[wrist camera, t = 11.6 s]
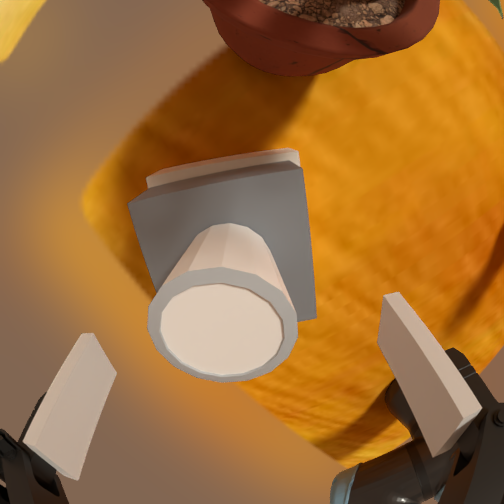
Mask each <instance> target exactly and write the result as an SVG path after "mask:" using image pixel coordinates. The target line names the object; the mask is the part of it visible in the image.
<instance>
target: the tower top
mask: <svg viewBox="0 0 504 504" xmlns="http://www.w3.org/2000/svg"><path fill="white" fill-rule="evenodd" d="M127 204H128V208H129V211H130V215H131V218H132V222H133V225H134V228H135V231H136V235H137V238H138V241H139V244H140V247H141V250H142V253H143V256H144V259H145V262H146V265H147V268H148V271H149V273H150V276H151V279H152V282H153V284H154V287H155V290H156V292H157V293H158V291H159V289H160V288H161V286H162V285H163V283H164V282H165V280H166V279H167V278H168V276H169V275H170V273H171V272H172V270H173V269H174V267H175V266H176V264H177V263H178V261H179V260H180V259H181V257H182V256H183V254H184V253H185V251H186V250H187V249H188V247H189V246H190V244H191V243H192V242H193V240H194V239H195V237H196V236H197V235H198V234H199V233H201V232H202V231H204V230H206V229H207V228H209V227H211V226H212V225H219V224H226V223H233V224H237V225H241V226H246V227H248V228H250V229H251V230H253V231H254V232H255V233H257V234H258V235H260V236H261V237H262V238H263V240H264V241H265V243H266V245H267V246H268V248H269V249H270V251H271V253H272V256H273V258H274V261H275V263H276V265H277V268H278V270H279V273H280V275H281V277H282V280H283V282H284V285H285V287H286V289H287V292H288V294H289V297H290V299H291V301H292V304H293V306H294V309H295V311H296V314H297V322H300V321H305V320H310V319H315V318H317V316H316V299H315V284H314V271H313V259H312V248H311V237H310V227H309V218H308V209H307V200H306V192H305V184H304V176H303V169H302V168H301V167H299V166H298V165H296V164H294V163H293V162H291V161H290V160H286V161H279V162H273V163H266V164H260V165H254V166H249V167H243V168H237V169H232V170H227V171H221V172H216V173H211V174H207V175H202V176H197V177H193V178H188V179H184V180H179V181H175V182H171V183H167V184H162V185H158V186H154V187H150V188H149V189H147V190H146V191H145V192H143V193H142V194H140V195H139V196H137V197H136V198H134V199H133V200H132V201H130V202H129V203H127Z"/></svg>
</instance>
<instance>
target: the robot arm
mask: <svg viewBox="0 0 504 504" xmlns="http://www.w3.org/2000/svg"><path fill="white" fill-rule="evenodd" d="M377 343H378V345H379V347H380V349H381V351H382V353H383V355H384V357H385V358H386V360H387V362H388V364H389V366H390V368H391V370H392V372H393V374H394V376H395V378H396V379H395V380H394V381H393V383H392V384H391V385H390V387H389V388H388V390H387V392H386V395H385V402H386V404H387V406H388V409H389V411H390V412H391V413H392V414H393V415H394V416H395V417H396V418H397V419H398V420H399V421H400V422H401V423H402V424H403V425H404V426H405V427H406V428H407V429H408V430H409V432H410V435H411V437H412V439H413V440H412V441H411V442H409V443H407V444H405V445H402V446H400V447H398V448H396V449H394V450H392V451H390V452H388V453H386V454H383V455H381V456H379V457H377V458H374V459H372V460H370V461H367V462H364V463H359V464H357V465H356V466H354V467H352V468H349V469H347V470H344V471H342V472H340V473H339V474H338V475H337V476H336V477H335V478H334V480H333V482H332V486H331V493H330V504H421V503H422V502H424V501H426V500H428V499H430V498H432V497H434V496H435V497H434V500H436V501H437V502H438V504H504V403H498V402H497V401H496V399H495V398H494V397H493V395H492V394H491V392H490V391H489V389H488V388H487V386H486V385H485V383H484V382H483V380H482V379H481V378H480V376H479V375H478V373H476V370H475V369H474V368H473V366H471V365H470V362H469V361H468V359H467V358H466V357H465V355H464V354H462V353H461V352H459V351H458V350H456V349H455V348H451V349H448V350H446V351H444V350H443V348H442V347H441V346H440V344H439V343H438V342H437V340H436V339H435V338H434V336H433V335H432V334H431V332H430V331H429V330H428V328H427V327H426V326H425V324H424V323H423V322H422V320H421V319H420V318H419V317H418V315H417V314H416V313H415V312H414V310H413V309H412V308H411V306H410V305H409V304H408V303H407V302H406V300H405V299H404V298H403V297H402V295H401V294H400V293H399V292H395V293H391V294H387V295H383V303H382V311H381V319H380V326H379V333H378V340H377ZM116 374H117V373H116V371H115V370H114V368H113V366H112V365H111V363H110V362H109V360H108V358H107V356H106V355H105V353H104V351H103V349H102V348H101V346H100V344H99V342H98V341H97V339H96V337H95V335H94V333H87V334H86V333H84V334H81V336H80V337H79V339H78V340H77V342H76V344H75V345H74V347H73V348H72V350H71V352H70V353H69V355H68V357H67V358H66V360H65V362H64V363H63V365H62V367H61V368H60V370H59V372H58V374H57V375H56V377H55V379H54V381H53V382H52V384H51V386H50V388H49V390H48V392H46V393H45V394H44V395H43V396H42V397H41V398H40V399H39V400H38V402H37V404H36V406H35V410H33V412H32V414H31V417H30V418H29V420H28V422H27V424H26V426H25V428H24V430H23V432H22V434H21V437H20V438H19V440H18V442H16V441H15V440H14V439H13V438H12V437H11V436H10V435H9V434H8V433H7V432H6V431H5V430H3V429H0V479H1V480H2V481H4V482H5V483H6V488H5V487H3V486H2V485H0V504H69V502H68V500H67V497H66V495H65V492H64V490H63V487H62V484H61V481H60V479H59V477H58V475H56V474H55V473H56V470H57V471H59V472H60V473H61V474H63V475H64V476H66V477H69V478H72V479H75V480H79V477H80V473H81V470H82V467H83V464H84V461H85V457H86V454H87V451H88V448H89V445H90V442H91V440H92V437H93V434H94V431H95V428H96V425H97V423H98V420H99V417H100V414H101V412H102V409H103V406H104V404H105V401H106V399H107V396H108V393H109V391H110V389H111V386H112V384H113V381H114V379H115V377H116Z"/></svg>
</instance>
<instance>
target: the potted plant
mask: <svg viewBox="0 0 504 504" xmlns="http://www.w3.org/2000/svg"><path fill="white" fill-rule="evenodd" d="M203 1H204V3H205V4H206V5H207V6H208V7H209V8H210V10H211V13H212V16H213V19H214V22H215V24H216V27H217V29H218V32H219V34H220V35H221V37H222V38H223V40H224V41H225V43H226V44H227V45H228V46H229V47H230V48H231V49H232V50H233V51H234V52H235V53H236V54H237V55H238V56H239V57H241V58H242V59H243V60H244V61H246V62H247V63H249V64H250V65H252V66H253V67H256V68H258V69H260V70H262V71H264V72H268V73H272V74H275V75H282V76H289V77H290V76H312V75H317V74H322V73H327V72H329V71H332V70H334V69H337V68H339V67H341V66H343V65H345V64H347V63H349V62H351V61H353V60H356V59H365V58H375V57H379V56H382V55H386V54H389V53H392V52H396V51H399V50H403V49H406V48H409V47H410V46H412V45H414V44H415V43H417V42H419V41H421V40H422V39H423V38H424V37H425V36H426V35H427V34H428V33H429V32H430V31H431V29H432V28H433V27H434V24H435V22H436V19H437V17H438V14H439V4H440V0H203ZM489 1H490V2H491V3H492V4H493V5H494V6H495V7H496V8H497V9H498V11H499V13H500V15H501V17H502V19H503V13H502V9H501V4H500V0H489Z"/></svg>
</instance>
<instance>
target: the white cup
mask: <svg viewBox="0 0 504 504" xmlns="http://www.w3.org/2000/svg"><path fill="white" fill-rule="evenodd" d="M147 329H148V332H149V334H150V336H151V338H152V340H153V343H154V345H155V347H156V349H157V350H158V352H160V353H161V354H162V355H163V356H164V357H165V358H166V359H167V360H168V361H169V362H170V363H171V364H172V365H173V366H174V367H176V368H178V369H180V370H182V371H184V372H186V373H188V374H190V375H192V376H194V377H196V378H201V379H206V380H212V381H217V382H236V381H247V380H250V379H253V378H256V377H258V376H261V375H263V374H266V373H269V372H271V371H272V370H273V369H274V368H276V367H277V366H278V365H279V364H280V363H282V362H283V361H284V360H285V359H286V358H288V356H289V354H290V352H291V350H292V348H293V346H294V344H295V342H296V340H297V338H298V328H297V314H296V311H295V309H294V306H293V304H292V301H291V299H290V297H289V294H288V292H287V289H286V287H285V285H284V282H283V280H282V277H281V275H280V273H279V270H278V268H277V265H276V263H275V261H274V258H273V256H272V253H271V251H270V249H269V248H268V246H267V245H266V243H265V241H264V240H263V238H262V237H261V236H260V235H258V234H257V233H255V232H254V231H253V230H251V229H250V228H248V227H246V226H241V225H237V224H233V223H226V224H219V225H212V226H211V227H209V228H207V229H206V230H204V231H202V232H201V233H199V234H198V235H197V236H196V237H195V239H194V240H193V242H192V243H191V244H190V246H189V247H188V249H187V250H186V251H185V253H184V254H183V256H182V257H181V259H180V260H179V261H178V263H177V264H176V266H175V267H174V269H173V270H172V272H171V273H170V275H169V276H168V278H167V279H166V280H165V282H164V283H163V285H162V286H161V288H160V289H159V291H158V293H157V294H156V296H155V297H154V299H153V300H152V302H151V303H150V305H149V308H148V325H147Z"/></svg>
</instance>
